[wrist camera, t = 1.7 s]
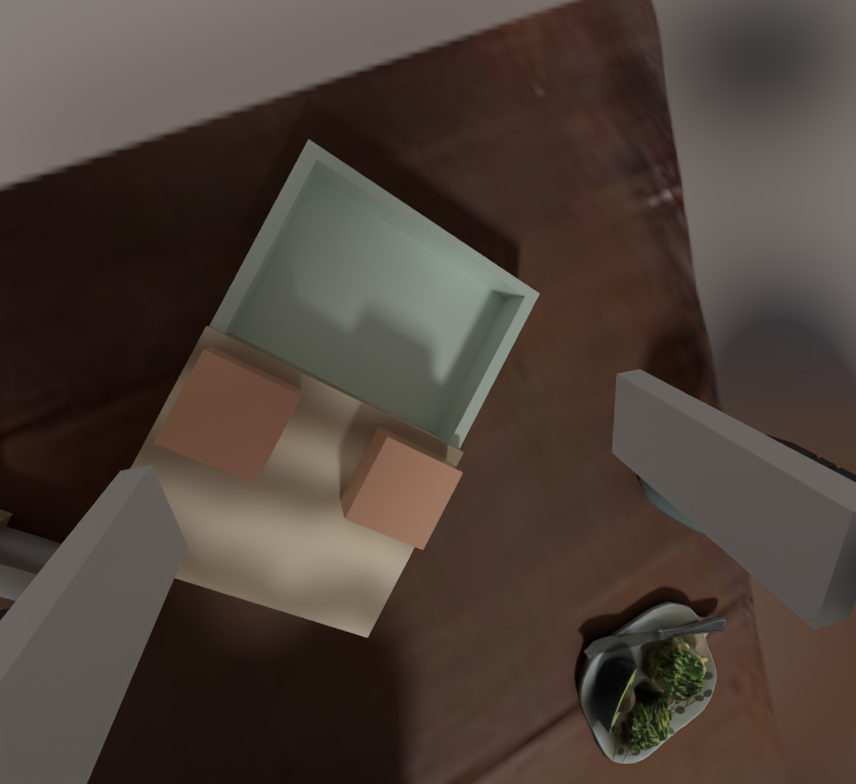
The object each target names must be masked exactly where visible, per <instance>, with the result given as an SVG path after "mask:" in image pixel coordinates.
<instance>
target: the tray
mask: <svg viewBox="0 0 856 784" xmlns="http://www.w3.org/2000/svg"><path fill="white" fill-rule="evenodd" d="M538 296H539V293H538V292H536V291H535V290H533V289H532V288H530V287H529V286H527V285H526V284H524V283H523V282H521V281H520V280H518V279H517V278H515V277H514V276H512V275H511V274H509V273H508V272H506V271H505V270H503V269H502V268H500V267H499V266H497V265H496V264H494V263H493V262H491V261H490V260H489V259H487V258H486V257H484V256H483V255H481V254H480V253H478V252H477V251H475V250H474V249H472V248H471V247H469V246H468V245H466V244H465V243H463V242H462V241H460V240H459V239H457V238H456V237H454V236H453V235H451V234H450V233H448V232H447V231H445V230H444V229H442V228H441V227H439V226H438V225H436V224H435V223H433V222H432V221H430V220H429V219H427V218H426V217H424V216H423V215H421V214H420V213H418V212H417V211H415V210H414V209H412V208H411V207H409V206H408V205H406V204H405V203H403V202H402V201H400V200H399V199H397V198H396V197H394V196H393V195H391V194H390V193H388V192H387V191H385V190H384V189H382V188H381V187H379V186H378V185H376V184H375V183H373V182H372V181H370V180H369V179H367V178H366V177H364V176H363V175H361V174H360V173H359V172H357V171H356V170H354V169H353V168H351V167H350V166H348V165H347V164H345V163H344V162H342V161H341V160H339V159H338V158H336V157H335V156H333V155H332V154H330V153H329V152H327V151H326V150H324V149H323V148H321V147H320V146H318V145H317V144H315V143H314V142H312V141H311V140H309V139H308V141H307V143H306V145H305V147H304V149H303V151H302V152H301V154H300V156H299V158H298V160H297V162H296V164H295V166H294V167H293V169H292V171H291V173H290V175H289V177H288V179H287V181H286V183H285V184H284V186H283V188H282V190H281V192H280V194H279V196H278V198H277V199H276V201H275V203H274V205H273V207H272V209H271V211H270V213H269V215H268V216H267V218H266V220H265V222H264V224H263V226H262V228H261V230H260V232H259V233H258V235H257V237H256V239H255V241H254V243H253V245H252V247H251V248H250V250H249V252H248V254H247V256H246V258H245V260H244V262H243V264H242V265H241V267H240V269H239V271H238V273H237V275H236V277H235V279H234V280H233V282H232V284H231V286H230V288H229V290H228V292H227V294H226V296H225V297H224V299H223V301H222V303H221V305H220V307H219V309H218V311H217V312H216V314H215V316H214V318H213V320H212V322H211V324H210V327H212V328H214V329H216V330H218V331H220V332H222V333H224V334H226V333H232V334H234V335H236V336H238V337H240V338H242V339H244V340H246V341H248V342H250V343H252V344H254V345H256V346H258V347H260V348H262V349H264V350H266V351H268V352H270V353H272V354H274V355H276V356H278V357H280V358H282V359H284V360H286V361H288V362H290V363H292V364H294V365H296V366H298V367H300V368H302V369H304V370H306V371H308V372H310V373H312V374H314V375H316V376H318V377H321V378H323V379H325V380H327V381H329V382H331V383H333V384H335V385H337V386H339V387H341V388H343V389H345V390H347V391H349V392H351V393H353V394H355V395H357V396H359V397H361V398H363V399H365V400H367V401H369V402H371V403H373V404H375V405H377V406H379V407H381V408H383V409H385V410H387V411H389V412H391V413H393V414H395V415H397V416H399V417H401V418H403V419H405V420H407V421H409V422H411V423H413V424H415V425H417V426H419V427H421V428H424V429H426V430H428V431H430V432H432V433H434V434H436V435H437V436H438V437H440V438H441V439H442V440H444V441H445V442H447V443H448V444H450V445H452V446H454V447H456V448H458V449H459V448H460V447H461V445H462V443H463V441H464V439H465V437H466V435H467V433H468V431H469V429H470V427H471V425H472V423H473V421H474V419H475V418H476V416H477V414H478V412H479V410H480V408H481V406H482V404H483V402H484V400H485V398H486V396H487V394H488V392H489V391H490V389H491V387H492V385H493V383H494V381H495V379H496V377H497V375H498V373H499V371H500V369H501V367H502V365H503V363H504V362H505V360H506V358H507V356H508V354H509V352H510V350H511V348H512V346H513V344H514V342H515V340H516V338H517V336H518V334H519V333H520V331H521V329H522V327H523V325H524V323H525V321H526V319H527V317H528V315H529V313H530V311H531V309H532V307H533V306H534V304H535V302H536V300H537V298H538Z"/></svg>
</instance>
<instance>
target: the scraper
mask: <svg viewBox="0 0 856 784" xmlns="http://www.w3.org/2000/svg"><path fill="white" fill-rule="evenodd" d="M12 515H13V514H12V513H9V512H6V511H3V510H0V597H3V598H7V599H10V600H14V601H17V599H18V598H19V597H20V596H21V594H22V593H23V592H24V591H25V589H26V588H27V587H28V586H29V584H30V583H31V582H32V581H33V579H34V578H35V577H36V576H37V574H38V573H39V572H40V571H41V569H42V568H43V567H44V566H45V564H46V563H47V562H48V561H49V559H50V558H51V557H52V556H53V554H54V553H55V552H56V551H57V549H58V548H59V547H60V546H61V543H58V542H54V541H51V540H48V539H45V538H41V537H38V536H35V535H32V534H29V533H25V532H22V531H19V530H16V529H12V528H9V527H6V526H7V524H8V522H9V520H10V518H11V517H12Z"/></svg>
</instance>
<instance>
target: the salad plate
mask: <svg viewBox="0 0 856 784" xmlns="http://www.w3.org/2000/svg"><path fill="white" fill-rule="evenodd" d="M726 626H727V620H726V618H725V617H723V616H720V615H718V616H710V617H700V616H698V615H696V613H695V612H694V611H693V610H692V609H691V608H690V607H688V606H685V605H682V604H677V603H672V602H665V603H662V604H659V605H656V606H654V607H652V608H650V609H648V610H646V611H644V612H643V613H642V614H640V615H639V616H637V617H636V618H634V619H633V620H632V621H630V622H628V623H627V624H625V625H623V626H622V627H620V628H619V629H617V630H615V631H614V632H612V633H611V634H609V635H608V636H605V637H602V638H600V639H597V640H595V641H593V642H592V643H591V644H590V645H589V646H588V647H587V648H586V649H585V650H584V652H585V653H586V655H587V656H586V658H585V660H584V662H583V664H582V666H581V669H580V672H579V675H578V681H577V691H578V697H579V701H580V704H581V708H582V713H583V715H584V716H585V718H586V720H587V722H588V725H589V727H590V729H591V732H592V734H593V737H594V739H595V742H596V744H597V746H598V747H599V748H600V750H601V752H602V754H603V755H604V756H605V757H607V758H608V759H610V760H611V761H613V762H616V763H620V764H628V763H636V762H638V761H641V760H643V759H644V758H646V757H647V756H649V755H650V754H651V753H653V752H654V751H655V750H656V749H657V748H658V747H659V746H661V744H663V743H664V742H665V741H666V740H667V739H668V738H669V737H671V736H672V735H673V734H675V733H676V732H677V731H678V730H679V729H681V728H682V727H684V726H686V724H687V723H689V722H690V721H691V720H692V719H694V718H695V717H696V716H697V715H699V714H700V713H701V712H702V711H703V709H704V708H705V707H706V705H707V704H708V702H709V700H710V698H711V696H712V693H713V690H714V687H715V682H716V668H715V665H714V661H713V659H712V656H711V653H710V651H709V648H708V645H707V641H706V636H707V634H708V633H714V632H722V631H724V630H725V628H726ZM637 687H639V689H637V690H636V689H635V688H637ZM668 697H670V698H672V699H674V700H673V701H672V703H671V704H670V705H669V706H668V703H669V702H668V701H669V698H668Z"/></svg>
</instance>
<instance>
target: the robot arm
mask: <svg viewBox="0 0 856 784" xmlns="http://www.w3.org/2000/svg"><path fill="white" fill-rule="evenodd" d="M612 453H613V454H614V455H615V456H617V457H618V458H619V459H620V460H621V461H622V462H623V463H625V464H626V465H627V466H628V467H629V468H630V469H631V470H633V471H634V472H635V473H636V474H637V475H638V476H639V477H641V478H642V479H643V480H644V481H645V482H646V483H647V484H649V485H650V486H651V487H652V488H653V489H654V490H655V491H657V492H658V493H659V494H660V495H661V496H662V497H663V498H665V499H666V500H667V501H668V502H669V503H670V504H671V505H673V506H674V507H675V508H676V509H677V510H678V511H679V512H681V513H682V514H683V515H684V516H685V517H686V518H687V519H689V520H690V521H691V522H692V523H693V524H694V525H695V526H697V527H698V528H699V529H700V530H701V531H702V532H703V533H705V534H706V535H707V536H708V537H709V538H710V539H711V540H713V541H714V542H715V543H716V544H717V545H718V546H719V547H721V548H722V549H723V550H724V551H725V552H726V553H727V554H729V555H730V556H731V557H732V558H733V559H734V560H735V561H737V562H738V563H739V564H740V565H741V566H742V567H743V568H745V569H746V570H747V571H748V572H749V573H750V574H751V575H753V576H754V577H755V578H756V579H757V580H758V581H760V582H761V583H762V584H763V585H764V586H765V587H766V588H768V589H769V590H770V591H771V592H772V593H773V594H774V595H775V596H777V597H778V598H779V599H780V600H781V601H782V602H783V603H785V604H786V605H787V606H788V607H789V608H790V609H791V610H793V611H794V612H795V613H796V614H798V616H800V617H801V618H802V619H803V620H804V621H805V622H806V623H808V624H809V625H810V626H811V627H812V628H813V629H816V628H820V627H823V626H826V625H829V624H833V623H836V622H840V621H843V620H846V619H849V616H850V613H851V611H852V608H853V605H854V603H855V600H856V475H855V474H853V473H851V472H849V471H847V470H845V469H843V468H837V467H836V465H835V464H833V463H831V462H829V461H827V460H825V459H823V458H817V455H815V454H814V453H812V452H810V451H808V450H806V449H804V448H802V447H800V446H798V445H796V444H794V443H791V442H788V441H785V440H782V439H778V438H775V437H772V436H769V435H764V434H762V433H760V432H759V431H756V430H755V429H752V428H751V427H749V426H747V425H745V424H743V423H741V422H740V421H738V420H736V419H734V418H732V417H730V416H728V415H726V414H724V413H722V412H721V411H719V410H717V409H715V408H713V407H711V406H709V405H707V404H705V403H703V402H701V401H700V400H698V399H696V398H694V397H692V396H690V395H688V394H686V393H684V392H682V391H681V390H679V389H677V388H675V387H673V386H671V385H669V384H667V383H665V382H663V381H661V380H660V379H658V378H656V377H654V376H652V375H650V374H648V373H646V372H644V371H642V370H641V369H639V370H634V371H629V372H624V373H618V374H617V378H616V395H615V412H614V428H613V445H612ZM187 547H188V546H187V544H186V542H185V539H184V537H183V535H182V532H181V530H180V528H179V526H178V523H177V521H176V519H175V516H174V514H173V512H172V510H171V507H170V505H169V503H168V500H167V498H166V496H165V494H164V491H163V489H162V487H161V484H160V482H159V480H158V478H157V475H156V473H155V471H154V468H153V466H152V465H148V466H143V467H138V468H133V469H128V470H123V471H120V472H119V473H118V474H117V476H116V477H115V478H114V479H113V481H112V482H111V483H110V484H109V486H108V487H107V488H106V489H105V491H104V492H103V493H102V494H101V496H100V497H99V498H98V499H97V501H96V502H95V503H94V504H93V506H92V507H91V508H90V509H89V511H88V512H87V513H86V514H85V516H84V517H83V518H82V519H81V521H80V522H79V523H78V524H77V526H76V527H75V528H74V529H73V531H72V532H71V533H70V534H69V536H68V537H67V538H66V539H65V541H64V542H63V543H62V544H61V546H60V547H59V548H58V549H57V551H56V552H55V553H54V554H53V556H52V557H51V558H50V559H49V561H48V562H47V563H46V564H45V566H44V567H43V568H42V569H41V571H40V572H39V573H38V574H37V576H36V577H35V578H34V579H33V581H32V582H31V583H30V584H29V586H28V587H27V588H26V589H25V591H24V592H23V593H22V594H21V596H20V597H19V598H18V599H17V601H16V602H15V603H14V604H13V606H12V607H11V608H7V609H3V610H0V784H87V782H88V780H89V778H90V775H91V773H92V771H93V768H94V766H95V764H96V761H97V759H98V757H99V754H100V752H101V749H102V747H103V745H104V742H105V740H106V738H107V735H108V733H109V731H110V728H111V726H112V724H113V721H114V719H115V716H116V714H117V712H118V709H119V707H120V705H121V702H122V700H123V698H124V695H125V693H126V691H127V688H128V686H129V683H130V681H131V679H132V676H133V674H134V672H135V669H136V667H137V665H138V662H139V660H140V658H141V655H142V653H143V650H144V648H145V646H146V643H147V641H148V639H149V636H150V634H151V632H152V629H153V627H154V625H155V622H156V620H157V618H158V615H159V613H160V610H161V608H162V606H163V603H164V601H165V599H166V596H167V594H168V592H169V589H170V587H171V585H172V582H173V580H174V577H175V575H176V573H177V570H178V568H179V566H180V563H181V561H182V559H183V556H184V554H185V552H186V549H187Z"/></svg>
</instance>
